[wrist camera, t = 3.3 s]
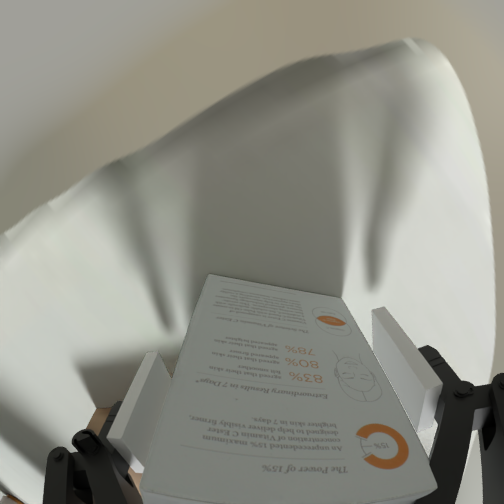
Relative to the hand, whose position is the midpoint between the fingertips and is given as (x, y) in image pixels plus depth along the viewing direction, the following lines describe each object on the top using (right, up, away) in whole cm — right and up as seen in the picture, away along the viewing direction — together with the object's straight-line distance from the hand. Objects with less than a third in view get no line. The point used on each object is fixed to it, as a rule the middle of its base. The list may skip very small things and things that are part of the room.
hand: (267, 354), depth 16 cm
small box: (0, +1, +2) cm, 3 cm away
